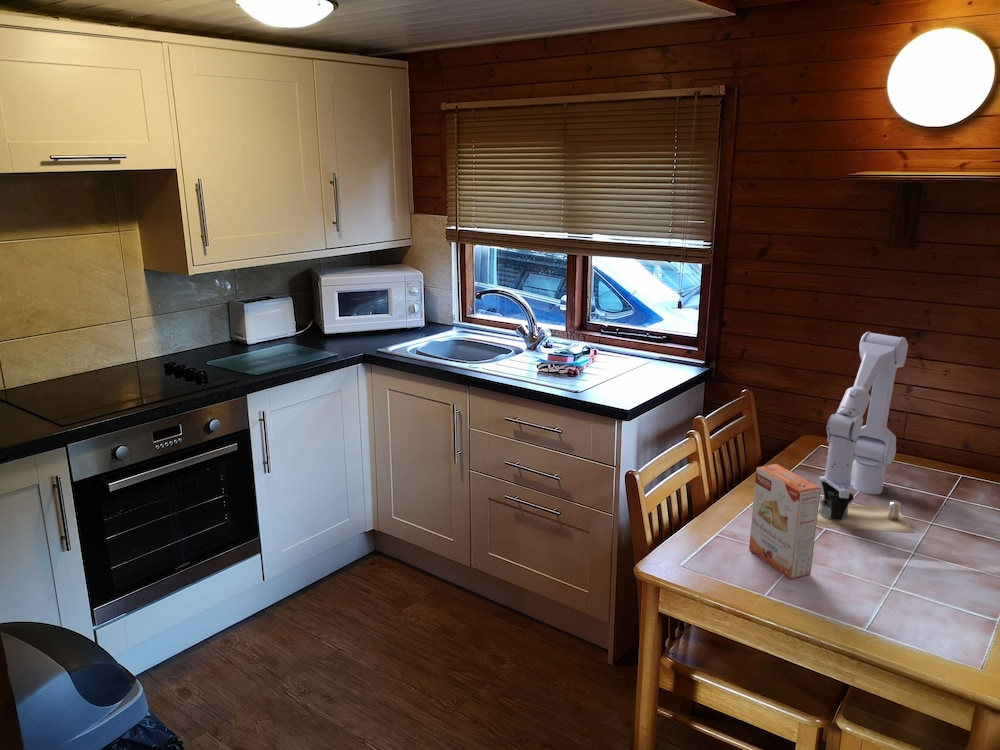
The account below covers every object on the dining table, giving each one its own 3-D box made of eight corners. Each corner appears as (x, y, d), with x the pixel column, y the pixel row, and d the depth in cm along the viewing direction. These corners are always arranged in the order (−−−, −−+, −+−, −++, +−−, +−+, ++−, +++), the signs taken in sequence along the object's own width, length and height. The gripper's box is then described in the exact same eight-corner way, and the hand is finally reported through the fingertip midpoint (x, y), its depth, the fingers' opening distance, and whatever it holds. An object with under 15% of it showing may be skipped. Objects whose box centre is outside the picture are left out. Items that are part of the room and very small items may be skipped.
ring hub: (817, 508, 196) (818, 497, 195) (842, 510, 195) (843, 499, 194) (823, 519, 190) (824, 508, 189) (848, 521, 189) (850, 510, 188)
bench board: (805, 505, 200) (805, 501, 200) (896, 511, 197) (896, 507, 196) (817, 530, 187) (818, 526, 187) (915, 537, 183) (915, 533, 183)
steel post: (886, 516, 192) (888, 500, 190) (896, 517, 191) (899, 500, 190) (889, 521, 189) (892, 505, 188) (900, 522, 188) (902, 505, 187)
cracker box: (747, 550, 178) (755, 465, 172) (768, 545, 180) (777, 462, 174) (788, 580, 165) (799, 490, 160) (811, 575, 167) (822, 486, 162)
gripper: (815, 449, 196) (809, 499, 200) (829, 472, 182) (823, 524, 186) (845, 451, 195) (838, 500, 199) (861, 474, 181) (854, 527, 185)
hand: (833, 512), depth 192 cm, fingers closed on ring hub, 6 cm apart
